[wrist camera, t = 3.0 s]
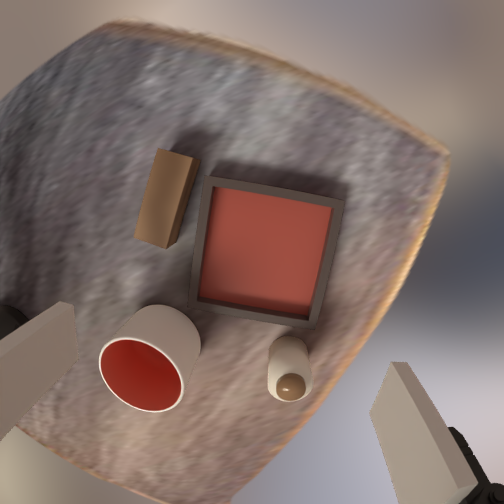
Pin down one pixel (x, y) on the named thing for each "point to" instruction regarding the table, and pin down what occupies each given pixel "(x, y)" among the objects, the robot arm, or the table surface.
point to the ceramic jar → (289, 369)
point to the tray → (263, 252)
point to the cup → (151, 358)
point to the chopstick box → (166, 198)
